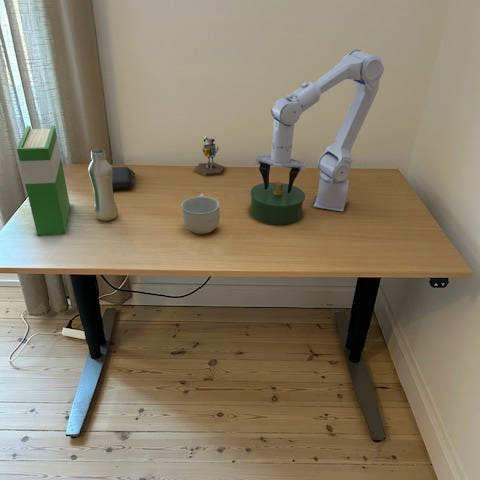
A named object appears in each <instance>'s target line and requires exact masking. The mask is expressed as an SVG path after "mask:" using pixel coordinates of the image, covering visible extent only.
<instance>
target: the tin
mask: <svg viewBox="0 0 480 480" xmlns="http://www.w3.org/2000/svg"><path fill="white" fill-rule="evenodd" d="M303 202H304V201H303ZM303 202H302V203H301V204H299V205H297V206H293V207H287V208H276V207H269V206H265V205H262V204H260V203H258V202H256V201H254V200H253V199H252V197H251V196H250V215H251V217H252V218H253V219H254V220H256V221H258V222H260V223H262V224H266V225H272V226H287V225H291V224H294V223H296V222H297V221H299V220H300V219H301V216H302V212H303V211H302V210H303V204H304V203H303Z"/></svg>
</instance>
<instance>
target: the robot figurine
mask: <svg viewBox="0 0 480 480" xmlns="http://www.w3.org/2000/svg"><path fill="white" fill-rule="evenodd" d="M214 142H216V141H215V138H210V137H209V138H208V136H207V135H205V136H204V139H203V143H204V144H203V147H202V153H203V157H205V158H206V157H207V159H208V160H207V162H203V163H202V162H200V163H198V165H197V166H196V167H195V173H197V174H199V175H202V176H204V177H212V176H221V175H222V174H223V172H224V170H225V166H224V165H221V164H219V163H217V162H214V158H215V157H216V154H218V151H219V148H220V147H219V145H216V143H214ZM210 159H211V160H210Z"/></svg>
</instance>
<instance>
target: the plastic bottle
mask: <svg viewBox="0 0 480 480" xmlns="http://www.w3.org/2000/svg"><path fill="white" fill-rule="evenodd" d="M90 155H91V158H90V159H91V160H92V161H91V162H90V163H89V166H88V170H87V171H88V175H89V179H90V182H91V185H92V189H93V190H92V191H93V196H94V198H93V199H94V205H93V207H94V214H95V216H96V218H97V219H99V220H100V221H111V220H112V221H113V220H114V219H115V218H116V217H117V216H118V204H117V203H116V200H115V195H114V190H113V188H112V168H111V167H112V165H111V164H110V163H109V162H108V160H106V158H107V156H106V151H105V150H104V149H103V148H93V149H92V150H91V151H90Z"/></svg>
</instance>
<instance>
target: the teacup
mask: <svg viewBox="0 0 480 480" xmlns="http://www.w3.org/2000/svg"><path fill="white" fill-rule="evenodd" d="M220 206H221V202H220V201H219V199H217V198H214V197H212V196H206V194H205V193H199V195H198V196H192V197H188V198H186V199H184V200H183V201H182V202H181V205H180V208H181V214H182V221H183V224H184V226H185V228H186V229H188V230H189V231H191V232H192V233H194V234H197V235H205V234H209V233H210V232H213V231H214V230H216V229H217V227H218V226H219V223H220V219H221V218H220V217H221V215H220V213H221V212H220Z"/></svg>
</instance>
